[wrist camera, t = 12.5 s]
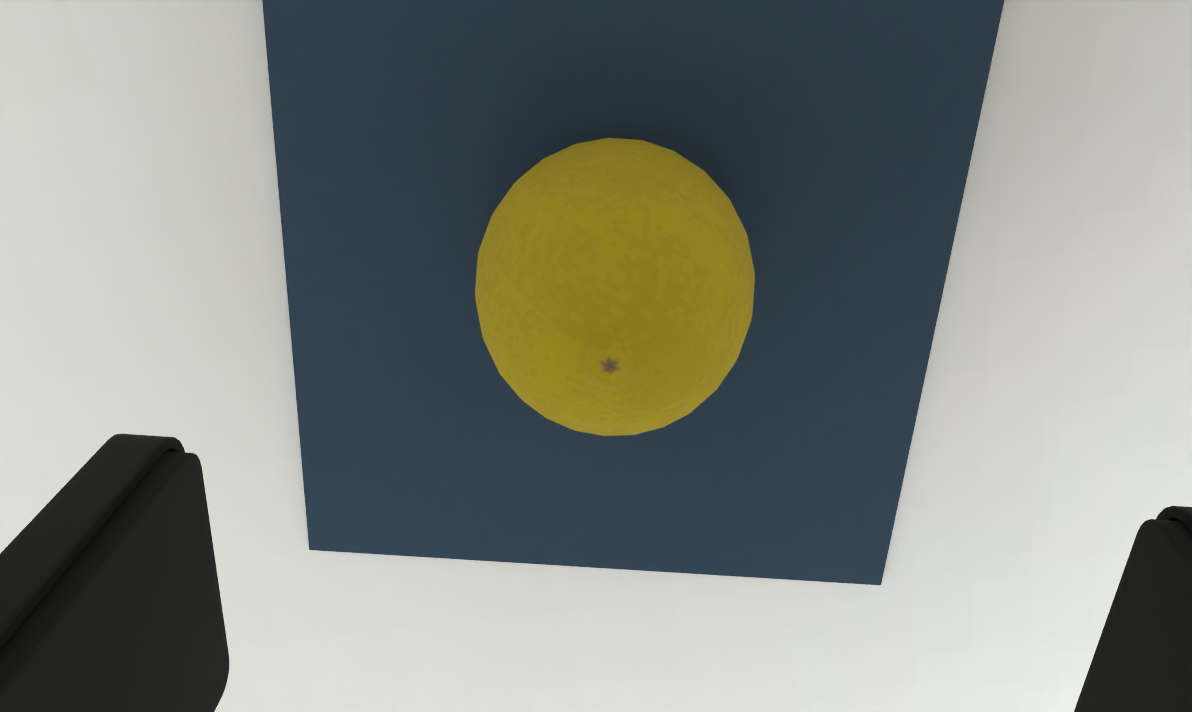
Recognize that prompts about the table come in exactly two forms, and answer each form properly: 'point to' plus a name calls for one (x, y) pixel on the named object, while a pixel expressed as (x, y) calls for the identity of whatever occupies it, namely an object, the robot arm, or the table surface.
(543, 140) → the mat
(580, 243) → the lemon
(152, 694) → the robot arm
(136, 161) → the table surface
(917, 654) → the table surface
